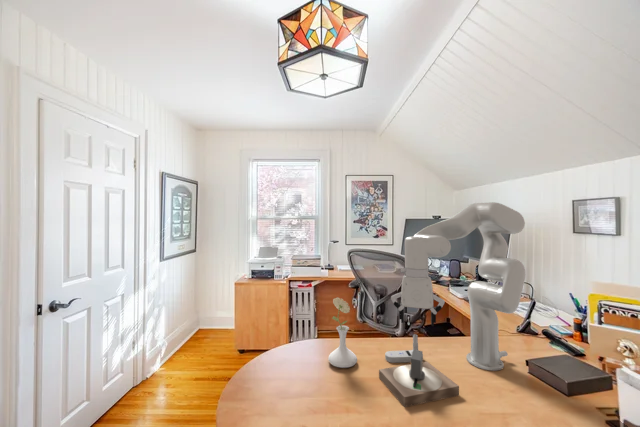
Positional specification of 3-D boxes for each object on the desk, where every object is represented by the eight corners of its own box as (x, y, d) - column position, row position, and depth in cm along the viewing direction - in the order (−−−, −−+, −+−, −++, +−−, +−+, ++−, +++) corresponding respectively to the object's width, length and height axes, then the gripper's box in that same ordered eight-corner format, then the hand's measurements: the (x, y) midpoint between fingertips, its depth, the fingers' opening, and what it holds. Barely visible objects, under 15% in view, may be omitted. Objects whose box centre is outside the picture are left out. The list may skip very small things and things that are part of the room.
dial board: (427, 369, 106) (427, 360, 106) (459, 395, 90) (459, 385, 90) (379, 377, 100) (379, 368, 100) (404, 407, 85) (404, 396, 85)
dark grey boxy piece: (410, 369, 99) (410, 348, 100) (425, 372, 97) (425, 351, 97) (406, 385, 90) (406, 362, 90) (422, 389, 88) (422, 366, 88)
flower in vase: (363, 366, 108) (362, 301, 108) (337, 374, 103) (337, 305, 103) (345, 352, 119) (345, 293, 120) (321, 357, 114) (321, 296, 115)
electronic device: (383, 333, 116) (419, 332, 116) (384, 357, 116) (420, 356, 116) (386, 339, 111) (424, 338, 111) (387, 364, 111) (425, 362, 111)
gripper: (389, 273, 95) (390, 324, 95) (445, 276, 89) (446, 330, 89) (391, 269, 102) (392, 316, 102) (443, 272, 96) (443, 321, 96)
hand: (417, 323), depth 96 cm, fingers open, 9 cm apart
